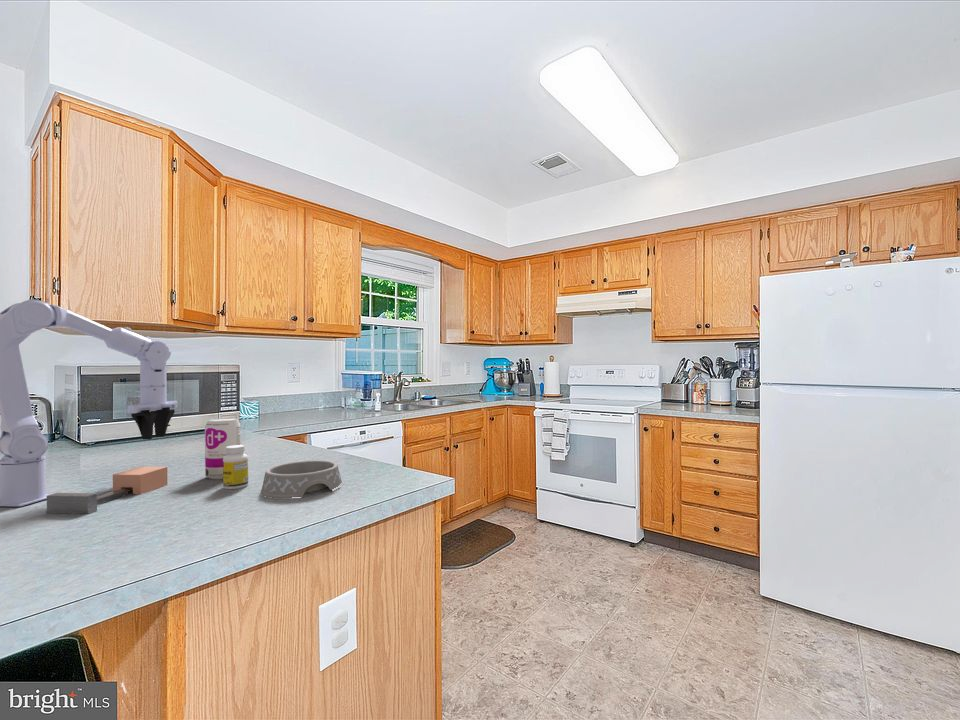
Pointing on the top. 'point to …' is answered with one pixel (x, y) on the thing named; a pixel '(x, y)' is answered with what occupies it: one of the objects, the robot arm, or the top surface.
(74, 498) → the rail
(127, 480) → the block
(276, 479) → the dog bowl
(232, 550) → the top surface
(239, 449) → the supplement bottle
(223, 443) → the supplement can
